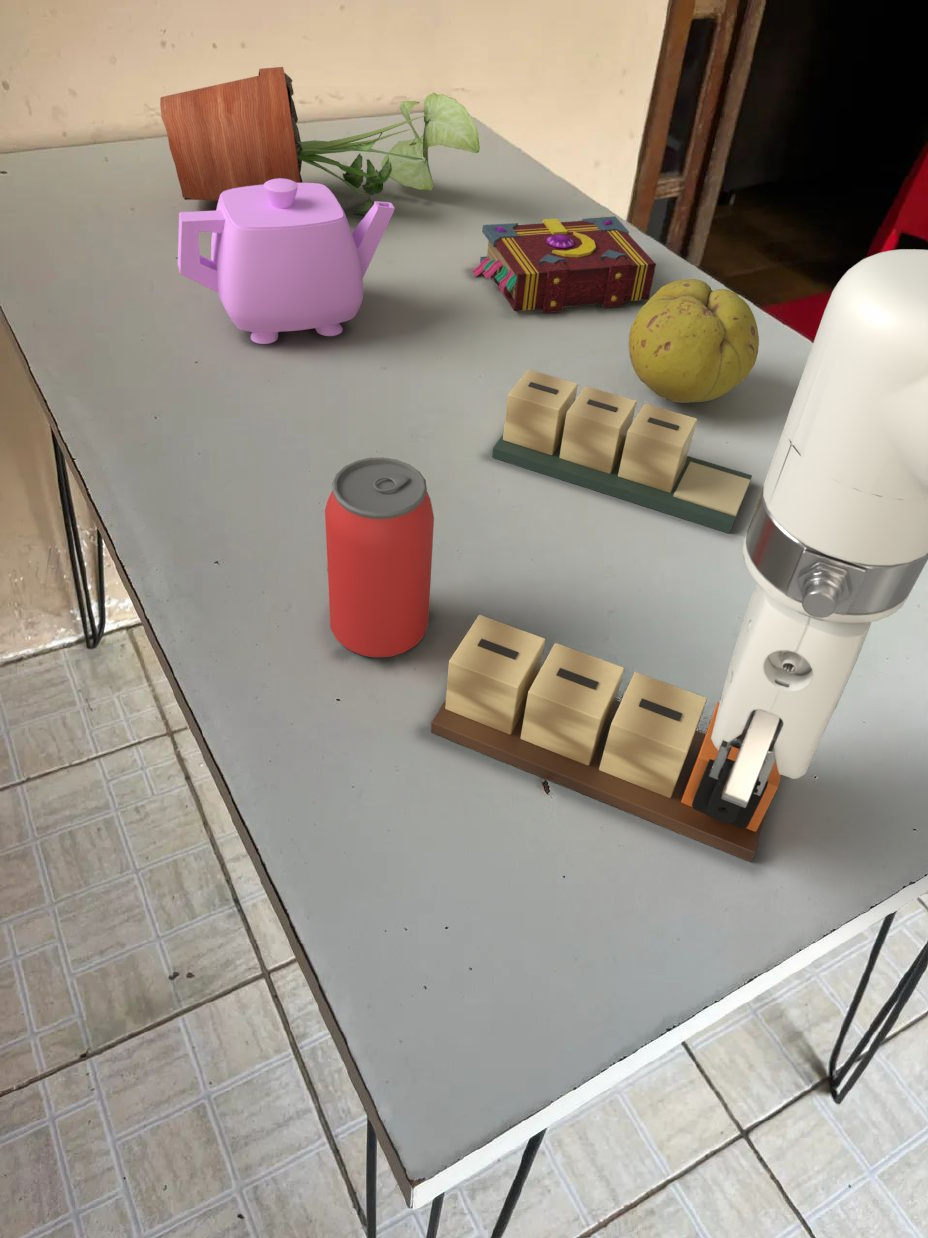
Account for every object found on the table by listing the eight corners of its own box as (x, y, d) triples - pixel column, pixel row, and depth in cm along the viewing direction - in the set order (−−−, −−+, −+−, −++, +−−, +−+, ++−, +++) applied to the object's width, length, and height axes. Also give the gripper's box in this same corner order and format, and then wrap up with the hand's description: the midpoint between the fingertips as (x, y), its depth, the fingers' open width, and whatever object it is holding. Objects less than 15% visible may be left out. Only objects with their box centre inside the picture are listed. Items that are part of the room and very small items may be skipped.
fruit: (596, 366, 91) (615, 263, 84) (711, 357, 94) (738, 256, 87) (640, 434, 84) (665, 327, 77) (763, 422, 87) (798, 318, 80)
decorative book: (650, 305, 101) (660, 258, 97) (502, 318, 97) (507, 270, 93) (607, 255, 108) (615, 210, 105) (469, 266, 104) (472, 220, 101)
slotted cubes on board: (776, 771, 59) (804, 714, 55) (751, 862, 55) (779, 807, 51) (476, 657, 64) (483, 598, 60) (430, 732, 60) (434, 672, 56)
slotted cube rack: (749, 484, 80) (768, 428, 76) (729, 533, 75) (748, 476, 71) (523, 415, 85) (530, 359, 81) (491, 457, 80) (497, 399, 76)
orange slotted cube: (771, 775, 58) (794, 728, 55) (755, 832, 55) (778, 786, 52) (699, 748, 59) (718, 700, 56) (680, 803, 56) (698, 755, 53)
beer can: (446, 639, 65) (457, 497, 57) (361, 677, 63) (358, 534, 54) (395, 581, 69) (398, 439, 61) (312, 614, 66) (302, 471, 58)
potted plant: (187, 251, 106) (502, 220, 110) (152, 98, 96) (501, 69, 100) (190, 200, 117) (475, 173, 121) (159, 58, 107) (472, 33, 111)
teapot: (198, 362, 87) (178, 222, 78) (177, 297, 96) (157, 163, 87) (411, 336, 93) (414, 202, 84) (374, 277, 101) (374, 148, 92)
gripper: (898, 700, 37) (762, 930, 50) (939, 467, 48) (820, 704, 61) (706, 633, 39) (623, 871, 52) (788, 423, 50) (703, 663, 63)
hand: (730, 779), depth 56 cm, fingers closed on orange slotted cube, 4 cm apart
